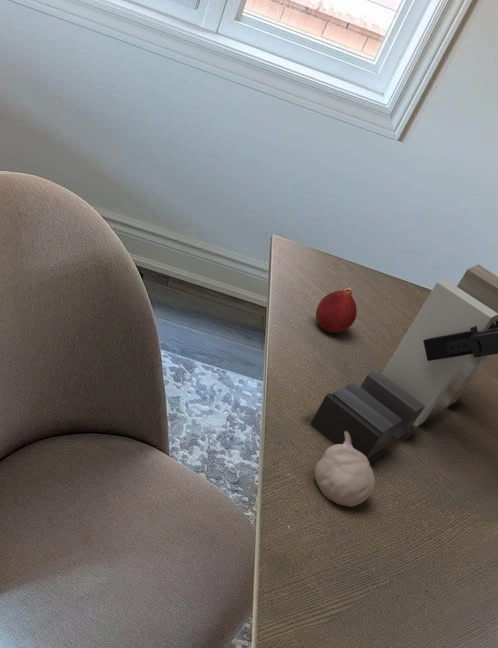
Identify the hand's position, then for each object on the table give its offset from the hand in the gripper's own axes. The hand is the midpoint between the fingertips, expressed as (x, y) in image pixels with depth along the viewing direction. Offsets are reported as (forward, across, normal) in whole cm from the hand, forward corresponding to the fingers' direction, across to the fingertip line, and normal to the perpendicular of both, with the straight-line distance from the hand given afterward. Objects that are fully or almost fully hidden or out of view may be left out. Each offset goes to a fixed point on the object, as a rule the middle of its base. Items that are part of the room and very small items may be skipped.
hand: (436, 345), depth 97 cm
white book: (+7, 0, +8) cm, 11 cm away
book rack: (+8, +3, +8) cm, 12 cm away
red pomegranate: (+20, -6, -4) cm, 21 cm away
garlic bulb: (+4, +22, +12) cm, 26 cm away
